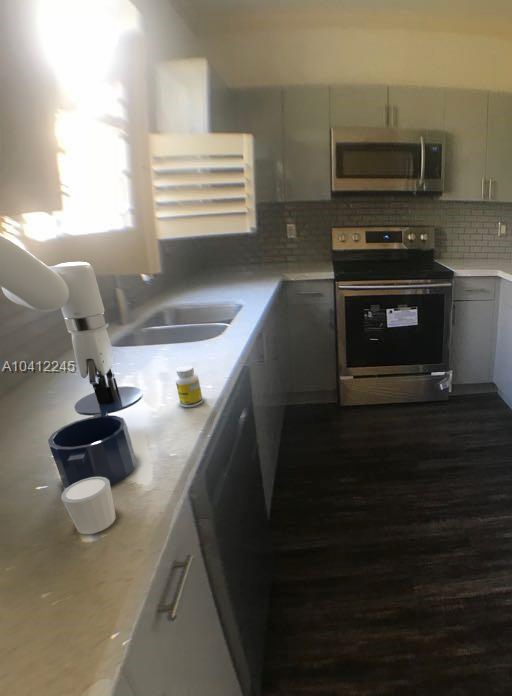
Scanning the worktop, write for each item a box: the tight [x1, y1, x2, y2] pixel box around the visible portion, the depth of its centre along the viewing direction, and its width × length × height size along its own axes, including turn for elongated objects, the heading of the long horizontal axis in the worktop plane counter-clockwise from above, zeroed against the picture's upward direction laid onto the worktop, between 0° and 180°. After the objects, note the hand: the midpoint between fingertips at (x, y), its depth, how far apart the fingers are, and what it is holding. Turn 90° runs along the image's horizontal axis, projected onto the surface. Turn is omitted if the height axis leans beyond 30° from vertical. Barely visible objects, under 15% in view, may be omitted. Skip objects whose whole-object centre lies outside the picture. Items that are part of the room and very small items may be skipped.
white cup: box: [60, 477, 116, 535], centre depth 76 cm, size 7×7×7 cm
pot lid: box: [74, 376, 144, 417], centre depth 104 cm, size 14×14×6 cm
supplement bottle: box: [175, 365, 204, 408], centre depth 117 cm, size 5×5×10 cm
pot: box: [47, 413, 137, 490], centre depth 89 cm, size 13×18×10 cm
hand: (109, 398), depth 104 cm, fingers closed on pot lid, 3 cm apart
